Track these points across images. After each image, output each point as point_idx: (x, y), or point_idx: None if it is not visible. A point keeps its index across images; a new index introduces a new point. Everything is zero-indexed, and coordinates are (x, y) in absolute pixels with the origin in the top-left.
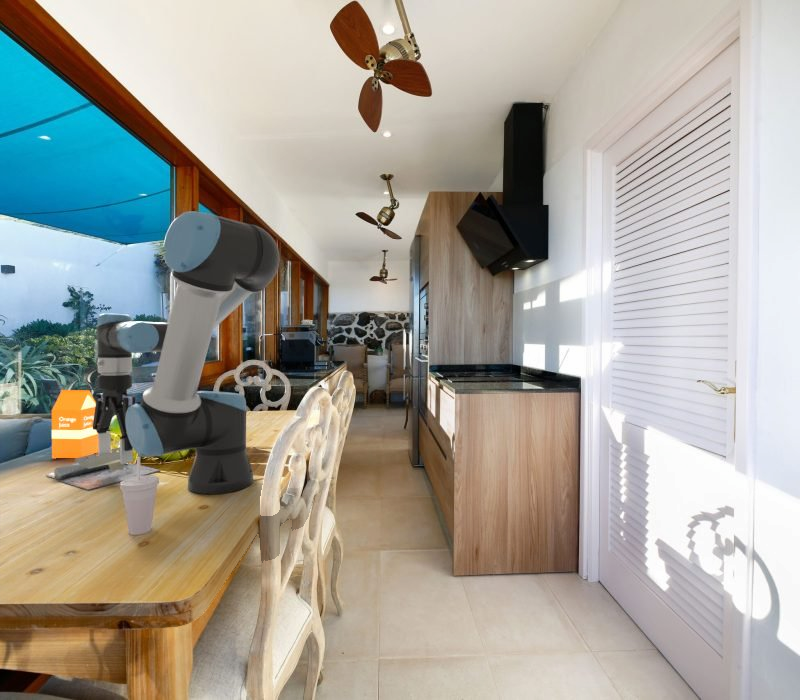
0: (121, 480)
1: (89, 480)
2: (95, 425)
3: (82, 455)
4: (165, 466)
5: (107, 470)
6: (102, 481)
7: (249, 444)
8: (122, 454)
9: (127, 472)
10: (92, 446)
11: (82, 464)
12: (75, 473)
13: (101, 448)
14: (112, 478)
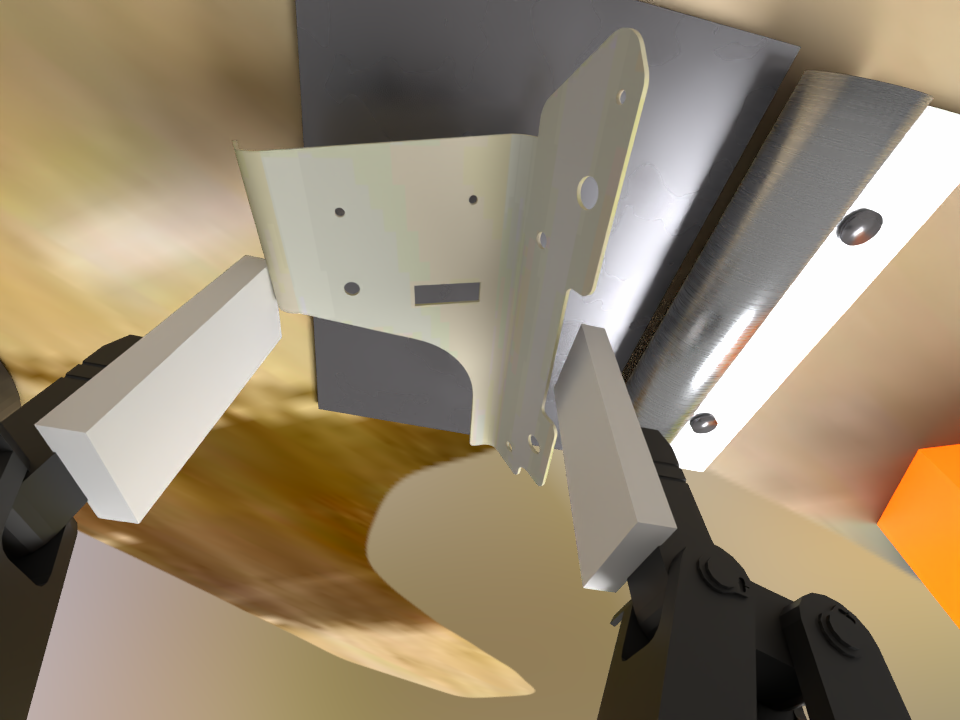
0: None
1: (516, 130)
2: (820, 678)
3: (927, 470)
4: (376, 455)
5: None
6: None
7: (361, 639)
8: (195, 304)
9: None
10: (923, 542)
11: (566, 105)
12: (732, 199)
13: (591, 390)
14: None
